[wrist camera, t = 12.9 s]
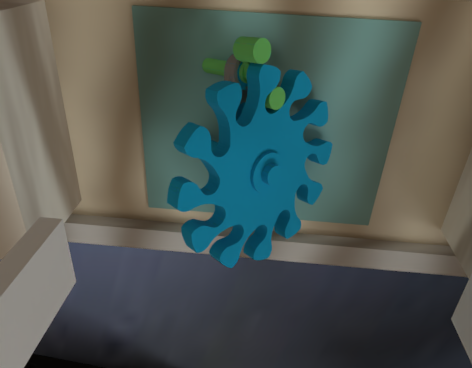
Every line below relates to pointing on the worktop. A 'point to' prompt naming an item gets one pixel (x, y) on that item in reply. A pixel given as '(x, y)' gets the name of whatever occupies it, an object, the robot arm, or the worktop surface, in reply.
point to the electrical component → (53, 363)
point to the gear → (250, 155)
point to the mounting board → (199, 112)
